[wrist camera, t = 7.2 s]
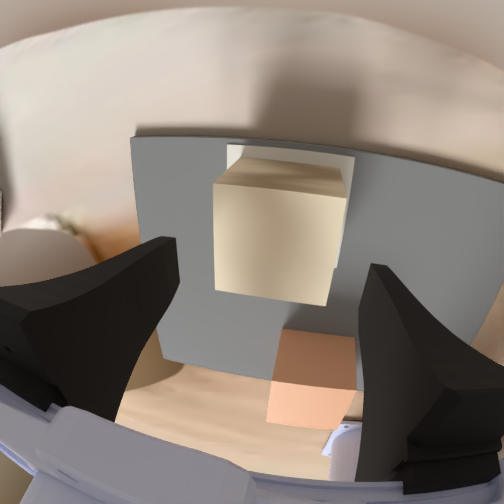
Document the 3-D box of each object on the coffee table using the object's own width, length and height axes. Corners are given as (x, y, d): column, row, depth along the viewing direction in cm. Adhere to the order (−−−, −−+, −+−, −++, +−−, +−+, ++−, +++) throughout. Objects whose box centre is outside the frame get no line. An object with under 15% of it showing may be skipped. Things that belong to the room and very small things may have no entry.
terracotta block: (354, 337, 20) (356, 390, 16) (338, 381, 23) (336, 430, 19) (281, 328, 21) (271, 380, 17) (275, 373, 23) (265, 421, 20)
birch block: (339, 167, 15) (346, 198, 11) (326, 255, 17) (325, 306, 14) (240, 156, 16) (212, 183, 12) (238, 243, 18) (215, 289, 14)
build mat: (530, 191, 13) (535, 194, 13) (437, 389, 22) (438, 394, 22) (134, 136, 17) (129, 138, 16) (165, 354, 26) (163, 359, 25)
